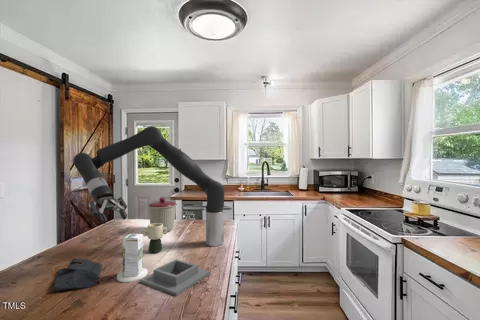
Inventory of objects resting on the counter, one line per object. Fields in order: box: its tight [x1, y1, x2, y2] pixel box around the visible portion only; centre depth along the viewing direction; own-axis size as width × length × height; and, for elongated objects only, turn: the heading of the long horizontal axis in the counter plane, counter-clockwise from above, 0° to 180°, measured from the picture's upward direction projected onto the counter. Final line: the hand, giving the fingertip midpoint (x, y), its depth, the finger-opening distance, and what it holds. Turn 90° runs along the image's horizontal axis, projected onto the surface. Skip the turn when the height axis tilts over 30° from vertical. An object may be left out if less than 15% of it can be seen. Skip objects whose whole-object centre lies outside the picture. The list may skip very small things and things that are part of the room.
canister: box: [146, 196, 178, 233], centre depth 158 cm, size 18×18×21 cm
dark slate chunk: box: [53, 257, 103, 292], centre depth 95 cm, size 15×22×5 cm
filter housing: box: [139, 258, 211, 297], centre depth 94 cm, size 18×18×4 cm
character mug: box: [142, 223, 168, 253], centre depth 122 cm, size 11×7×13 cm, turn 112°
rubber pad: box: [116, 267, 149, 284], centre depth 96 cm, size 11×11×1 cm
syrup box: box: [121, 233, 144, 276], centre depth 96 cm, size 6×6×14 cm
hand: (115, 220), depth 101 cm, fingers open, 8 cm apart
